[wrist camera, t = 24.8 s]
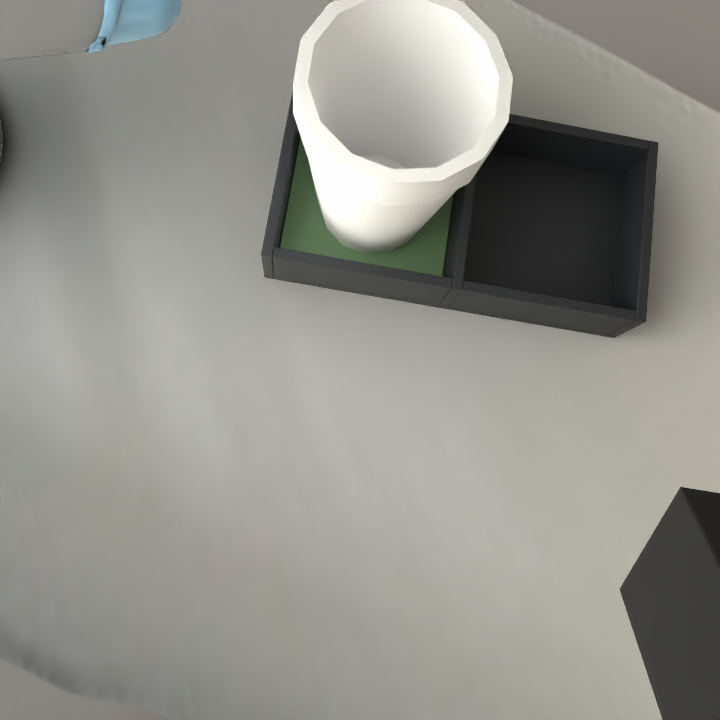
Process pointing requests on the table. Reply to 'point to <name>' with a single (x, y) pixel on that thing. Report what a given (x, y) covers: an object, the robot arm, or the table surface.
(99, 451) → the table surface
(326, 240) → the organizer
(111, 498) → the table surface
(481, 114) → the foam cup
